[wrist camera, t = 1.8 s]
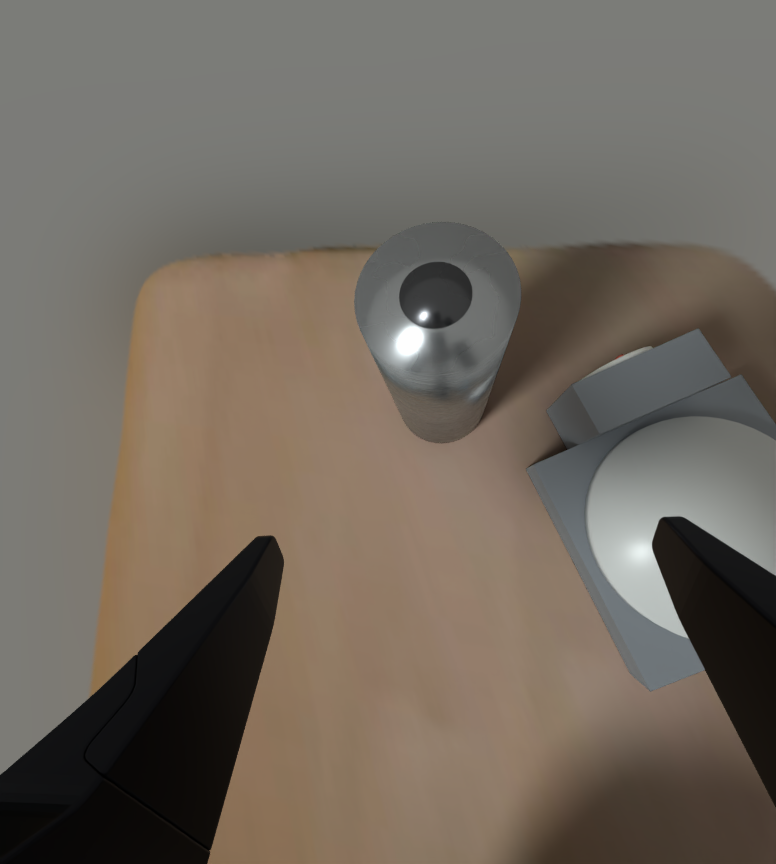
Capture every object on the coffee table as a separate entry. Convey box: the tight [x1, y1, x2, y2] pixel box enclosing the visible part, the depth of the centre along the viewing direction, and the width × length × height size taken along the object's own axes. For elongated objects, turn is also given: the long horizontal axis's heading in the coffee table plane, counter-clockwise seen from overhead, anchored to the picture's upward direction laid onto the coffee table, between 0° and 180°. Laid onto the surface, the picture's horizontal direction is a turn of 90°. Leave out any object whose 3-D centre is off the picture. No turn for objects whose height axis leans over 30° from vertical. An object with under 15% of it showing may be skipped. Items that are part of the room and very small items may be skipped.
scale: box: [526, 328, 776, 691], centre depth 19 cm, size 11×14×5 cm
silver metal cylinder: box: [354, 222, 521, 443], centre depth 18 cm, size 5×5×12 cm
